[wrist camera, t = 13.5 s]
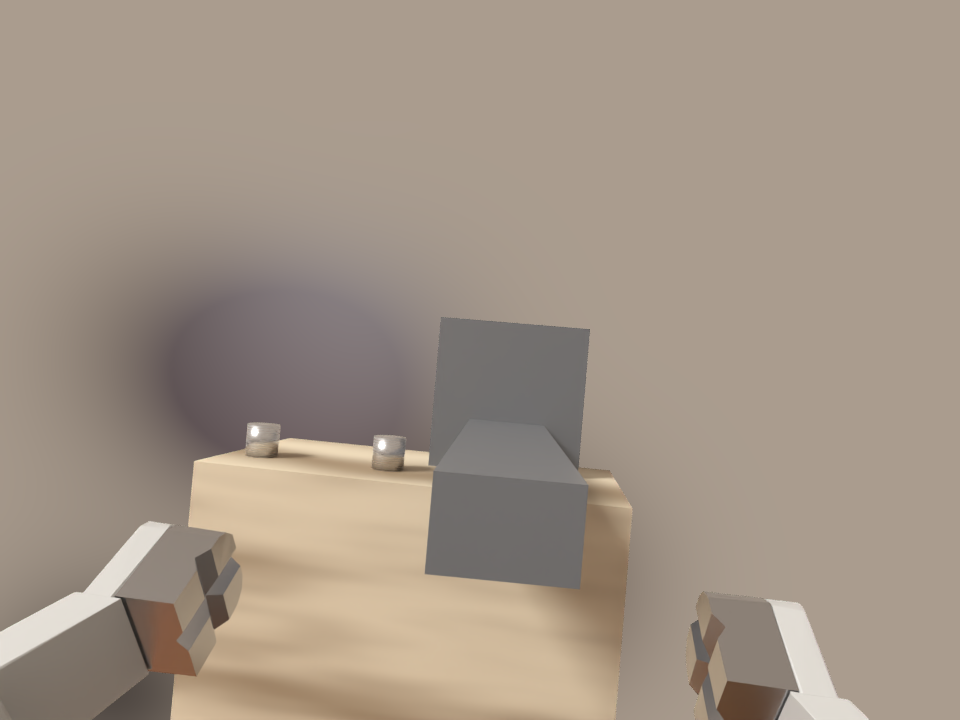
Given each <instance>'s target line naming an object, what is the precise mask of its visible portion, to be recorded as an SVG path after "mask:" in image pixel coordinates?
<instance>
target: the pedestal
mask: <svg viewBox="0 0 960 720" xmlns="http://www.w3.org/2000/svg"><path fill="white" fill-rule="evenodd" d="M279 437H280V425H278V424H273V423H248V427H247V438H246V449H243V450H239V451H234V452H230V453H226V454H222V455H218V456H214V457H210V458H205V459H201V460H197V461H194V471H193V481H192V493H191V503H190V513H189V525H188V527H194V528H200V529H207V530H213V531H220V532H226V533H230V534H233V538H234V541H235V545H236V549H235V551H234V552H233V554H232V556H231V557H232V558H233V559H234V560H235V561H236V562H237V563H238V564H239V565H240V566H241V571H242V590H241V594H240V597H239V600H238V604H237V606H236V608H235V610H234V612H233V614H232V616H231V617H230V619H229V620H228V621H226V622H225V623H223V624H222V625H220V626H219V627H217V628H216V629H215V635H216V641H217V642H216V644H215V646H214V647H213V649H212V651H211V652H210V654H209V656H208V658H207V659H206V661H205V663H204V665H203V666H202V668H201V670H200V672H199V673H198V675H197V677H195V676H187V675H179V674H175V677H174V688H173V699H172V710H171V720H615V718H616V706H617V692H618V680H619V668H620V656H621V644H622V632H623V620H624V607H625V594H626V583H627V582H626V581H627V570H628V558H629V546H630V534H631V521H632V507H631V505H630V504H629V502H628V500H627V499H626V497H625V495H624V494H623V492H622V490H621V489H620V487H619V485H618V484H617V482H616V481H615V479H614V477H613V476H612V474H611V472H610V471H608V470H598V469H589V468H579V467H578V472H579V473H580V474H581V476H582V477H583V478H584V480H585V481H586V482H587V484H588V485H589V486H588V498H587V510H586V522H585V534H584V546H583V558H582V570H581V583H580V589H570V588H560V587H550V586H540V585H530V584H520V583H509V582H499V581H489V580H479V579H469V578H458V577H448V576H438V575H428V574H425V563H426V552H427V540H428V528H429V517H430V505H431V493H432V482H433V471H434V469H435V468H436V467H437V466H429V465H428V463H429V452H422V451H411V450H405V446H406V438H405V437H401V436H394V435H375V436H374V444H373V447H372V446H362V445H353V444H343V443H333V442H323V441H313V440H303V439H294V438H288V439H285V440H280V441H279Z"/></svg>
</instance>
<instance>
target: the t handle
mask: <svg viewBox="0 0 960 720" xmlns="http://www.w3.org/2000/svg"><path fill="white" fill-rule="evenodd" d="M589 334H590V329H580V328H567V327H555V326H543V325H531V324H518V323H507V322H493V321H481V320H470V319H458V318H446V317H445V318H444V317H441V324H440V336H439V347H438V359H437V371H436V382H435V393H434V405H433V417H432V428H431V440H430V451H429V463H428V465H429V466H437V467H436V468H435V469H434V471H433V482H432V493H431V505H430V517H429V528H428V540H427V552H426V563H425V574H428V575H438V576H448V577H458V578H469V579H479V580H489V581H499V582H509V583H520V584H530V585H540V586H550V587H560V588H570V589H580V583H581V570H582V558H583V546H584V534H585V522H586V510H587V498H588V486H589V485H588V484H587V482H586V481H585V480H584V478H583V477H582V476H581V474H580V473H579V472H578V467H579V455H580V443H581V430H582V419H583V407H584V394H585V383H586V370H587V357H588V346H589Z"/></svg>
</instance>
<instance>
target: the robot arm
mask: <svg viewBox="0 0 960 720" xmlns="http://www.w3.org/2000/svg"><path fill="white" fill-rule="evenodd" d="M235 549H236V545H235V541H234V538H233V534H230V533H226V532H220V531H213V530H207V529H200V528H194V527H186V526H181V525H171V524H165V523H158V522H151V521H149V522H147V523H145V524H143V525H141V526H140V527H139V528H138V529H137V530H136V531H135V533H134V534H133V535H132V536H131V537H130V538H129V540H128V541H127V542H126V543H125V544H124V546H123V547H122V548H121V549H120V550H119V551H118V552H117V554H116V555H115V556H114V557H113V558H112V560H111V561H110V562H109V563H108V564H107V565H106V567H105V568H104V569H103V570H102V571H101V572H100V574H99V575H98V576H97V577H96V578H95V579H94V581H93V582H92V583H91V584H90V585H89V586H88V588H87V589H86V590H85V591H84V592H83V593H80V592H74V593H72V594H71V595H68V596H67V597H65V598H63V599H61V600H59V601H57V602H55V603H53V604H52V605H50V606H48V607H46V608H44V609H42V610H41V611H38V612H37V613H35V614H33V615H31V616H29V617H27V618H26V619H23V620H22V621H20V622H18V623H16V624H14V625H12V626H10V627H9V628H7V629H5V630H3V631H1V632H0V720H92V719H93V718H94V717H95V716H97V715H98V714H99V713H100V712H102V711H103V710H104V709H105V708H107V707H108V706H109V705H110V704H112V703H113V702H114V701H115V700H117V699H118V698H119V697H120V696H122V695H123V694H124V693H125V692H127V691H128V690H129V689H130V688H132V687H133V686H134V685H135V684H137V683H138V682H139V681H141V680H142V679H143V678H144V677H145V676H147V675H148V674H149V672H148V671H154V672H162V673H170V674H179V675H187V676H195V677H197V675H198V673H199V672H200V670H201V668H202V666H203V665H204V663H205V661H206V659H207V658H208V656H209V654H210V652H211V651H212V649H213V647H214V646H215V644H216V642H217V641H216V635H215V629H216V628H217V627H219V626H220V625H222V624H223V623H225V622H226V621H228V620H229V619H230V617H231V616H232V614H233V612H234V610H235V608H236V606H237V604H238V600H239V597H240V594H241V590H242V571H241V566H240V565H239V564H238V563H237V562H236V561H235V560H234V559H233V558H232V557H231V556H232V554H233V552H234V551H235ZM696 609H697V615H698V620H697V621H696V622H694V623H692V624H691V625H690V629H689V633H688V637H687V647H686V663H687V673H688V680H689V685H690V686H691V687H692V688H693V689H694V690H695V692H696V693H697V694H698V699H697V702H696V705H695V708H694V716H695V720H869V719H868V718H867V717H866V716H865V715H864V714H863V713H862V712H861V711H860V710H859V709H858V708H857V707H856V706H855V705H854V704H853V703H852V702H851V701H850V700H846V699H841V698H839V697H838V695H837V692H836V689H835V687H834V684H833V682H832V679H831V676H830V674H829V671H828V669H827V666H826V664H825V661H824V659H823V656H822V653H821V651H820V648H819V646H818V643H817V641H816V638H815V636H814V633H813V631H812V628H811V625H810V623H809V620H808V618H807V615H806V613H805V610H804V608H803V607H802V606H801V605H800V604H799V603H795V602H787V601H779V600H771V599H763V598H756V597H747V596H739V595H730V594H721V593H713V592H702V593H701V595H700V596H699V598H698V602H697V605H696Z"/></svg>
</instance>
